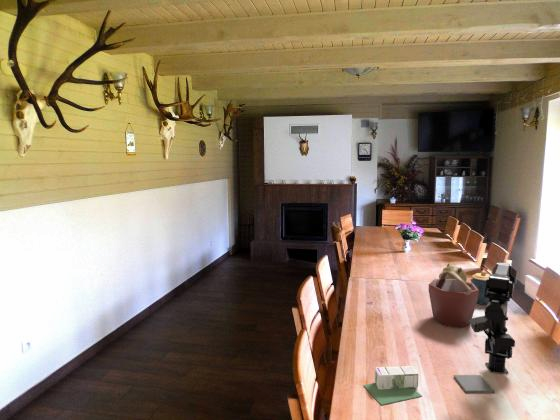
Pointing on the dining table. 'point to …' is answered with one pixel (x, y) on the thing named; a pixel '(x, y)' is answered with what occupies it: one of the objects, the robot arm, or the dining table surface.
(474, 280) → the canister
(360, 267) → the dining table surface
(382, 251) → the dining table surface
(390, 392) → the felt mat
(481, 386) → the slate coaster
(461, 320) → the bucket
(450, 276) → the frog figurine
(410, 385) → the syrup box
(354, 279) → the dining table surface
